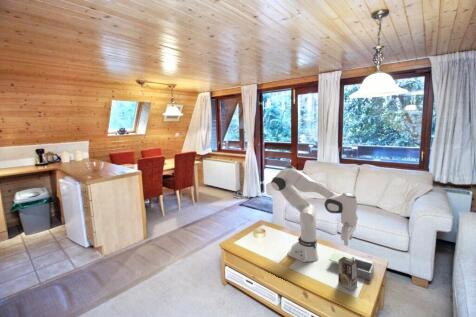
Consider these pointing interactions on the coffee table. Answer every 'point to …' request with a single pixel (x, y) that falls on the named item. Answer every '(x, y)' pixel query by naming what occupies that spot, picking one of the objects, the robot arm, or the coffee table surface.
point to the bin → (364, 269)
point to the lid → (337, 256)
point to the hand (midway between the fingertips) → (348, 242)
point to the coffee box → (347, 273)
